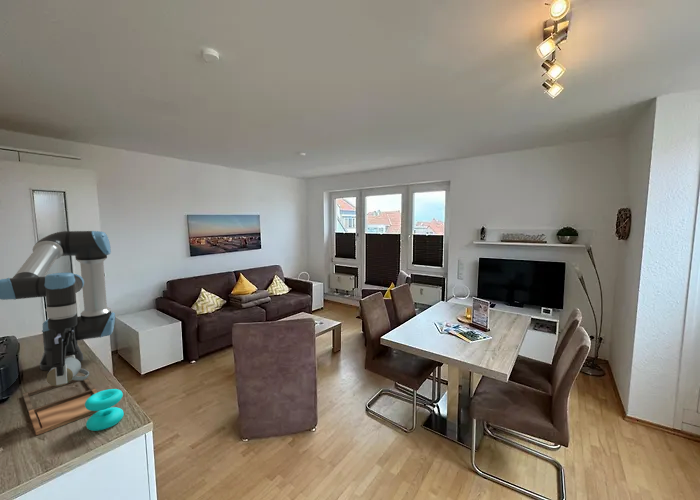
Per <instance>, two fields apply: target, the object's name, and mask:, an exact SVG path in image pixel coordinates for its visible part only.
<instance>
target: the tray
mask: <svg viewBox="0 0 700 500" xmlns="http://www.w3.org/2000/svg"><path fill="white" fill-rule="evenodd" d="M83 376H86V375H85V374H83ZM75 382H79V381H78V380H71V381H70V382H68V383H67V384H65V385H62V386H53V385H50V384H49V385H47V386H43V387H40V388H37V389H35V390H30V391H27V392H24V393H22V398H23V401H24V404H25V407H26V410H27V413H28V415H29V418H30V422H31V424H32V427H33V431H34V433H35V436H38V435H42V434H45V433H47V432H49V431H52V430H56V428H59V427H62V426H65V425H68V424H70V423H73V422H75V421H78V420H80V419H83V418H85V417H86V418H87V417H88V416H89V417H90V416H92V415H93V414H95V413H96V412H98V411H90V410H88V409H86V407H85V402H86V400H87V399H88V398H89V397H90V396H92V395H94V394H95V393H98V392H99V391H98V390H97V389H96V388H95V386H94V385H93V384H92V382H91V381H90V380H89V379H88V377H87V378H86V379H84V380H82V382H83V384H85V386H86V387H87V388H88V390H85V391H82V392H79V393H76V394H73V395H71V396H68V397H65V398H61V399H58V400H55V401H52V402H50V403H47V404H44V405H41V406H40V405H39V406H38V407H34V406H33V404H32V401H31V398H30V396H33V395H34V396H35V395H37V394H39V393H43V392H46V391H49V390H53V389H56V388H59V387H63V386H66V385H69V384H70V385H71V384H72V383H75ZM37 416H38V418H37ZM38 419H39V420H38ZM40 425H41V426H40Z"/></svg>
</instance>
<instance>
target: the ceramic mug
mask: <svg viewBox="0 0 700 500" xmlns="http://www.w3.org/2000/svg"><path fill="white" fill-rule="evenodd" d="M65 365H66V366H67V383H68V382H70V381H71V380H78V381H77V382H80V381H83V380H84V379H86V378H87V379H88V377H89V375H90V371H88V370H87V369H85V368H82V363H81V362H80V361H79V360H77V359H76V358H72V357H66V358H65ZM79 373H80V374H83V375H79V376H78V374H79ZM84 375H85V376H84ZM46 382H47V383H48V384H49V386H50V385H53V386H60V387H63V386H66V385H68V384H67V383H65V384H66V385H65V384H60V385H56V373H55V368H52V369H51V370H48V372H47V374H46ZM62 385H63V386H62Z"/></svg>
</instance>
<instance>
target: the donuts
mask: <svg viewBox="0 0 700 500" xmlns="http://www.w3.org/2000/svg"><path fill="white" fill-rule="evenodd" d="M91 395H92V396H90V397H89V398H88V399H87V400H86V402H85V407H86V409H88V410H90V411H98V412H96V413H94V414H91V415H90V416H89V418H88V419H87V420H86V424H85V427H86V429H87V430H89V431H93V432H95V431H96V432H98V431H105V430H106V429H110V428H112V427H113V426H116V425H117V424H118V423H120V422H121V420H122V419H123V418H124V415H125V413H124V410H123V409H122V408H120V407H116V405H117V404H118V403H120V401H121V400H122V399H123V397H124V393H123V391H122V390H121V389H118V388H110V389H109V388H108V389H103V390H100V391H98V393H95V394H94V395H93V394H91Z"/></svg>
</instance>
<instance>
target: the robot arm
mask: <svg viewBox="0 0 700 500" xmlns="http://www.w3.org/2000/svg"><path fill="white" fill-rule="evenodd" d="M111 253H112V251H111V243H110V239H109V236H108V235H107V234H106V232H104V231H98V230H74V231H73V230H72V231H70V230H67V231H66V230H62V231H57V232H54V233H51V234H48V235H47V236H44V237H43V238H41V239H39V240H38V241H36V243H35V244H34V246H33V247H32V253H30V255H29V257H28V258H27V259H26V261H25V262H24V263H23V264H22V265H21V267H19V269H18V270H17V272H16V273H15V274H14V275H13V277H7V278H1V279H0V300H2V301H3V300H6V301H8V300H13V301H14V300H23V299H32V298H45V301H46V308H45V309H44V311H45V312H46V314H47V315H46V316H47V318H48V319H46V320H44V322H43V323H42V330H41V332H42V340H43V343H42V344H43V354H42V357H41V359H40V363H39V370H41V371H45V372H46V371H48V372H49V371H50V370H51V369H52V368H55V373H56V385H60V384H65V383H67V366H66V365H65V358H66V357H72V358H76V359H77V360H79V361H80V363H81V362H82V361H83V360H84V353H83V352H82V350H81V348H80V346H79V344H78V341H82V340H84V341H85V340H91V339H97V338H98V339H99V338H103V337H109V336H111V335H112V334H113V332H114V329H115V323H116V313H115V312H114V311H112V310H111V308H109V307H108V305H107V293H106V292H107V291H106V280H105V265H104V261H106V259H107V258H108V256H109V255H111ZM65 256H66V257H67V256H68V257H70V256H71V257H74V256H75V261H77V262H78V263H79V264H80V274H81V275H79V274H78V273H77V274H76V273H73V272H55V273H49V274H47V273H48V272H49V270H50V269H51V267H52V266H53V264H54V262H55V261H56V260H59V259H60V258H61V257H65ZM81 290H82V298H83V307H84V308H83V310H82V312H80V316H78V315H77V313H78V310H77V309H78V308H77V307H78V306H77V299H76V297H77V295H76V294H77V293H78V292H80V291H81Z"/></svg>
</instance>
